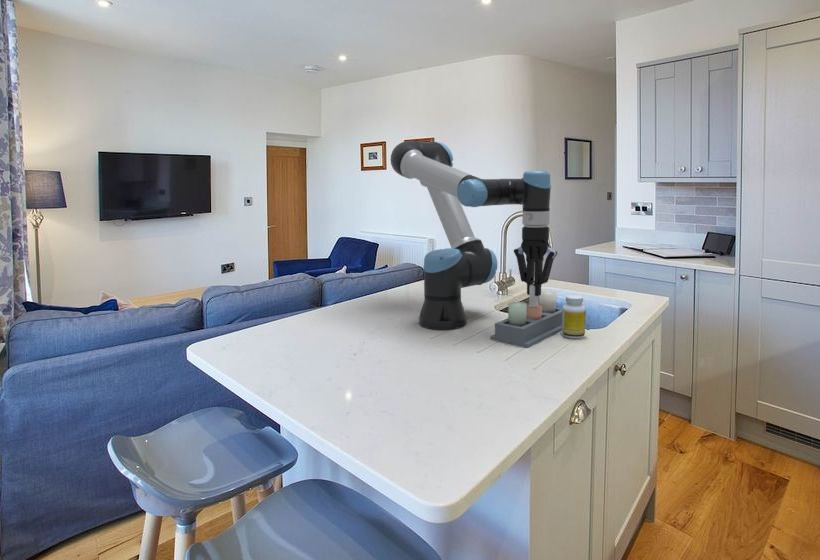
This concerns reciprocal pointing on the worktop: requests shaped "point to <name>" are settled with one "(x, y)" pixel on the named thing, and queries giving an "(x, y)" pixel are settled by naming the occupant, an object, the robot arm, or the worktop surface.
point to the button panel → (529, 330)
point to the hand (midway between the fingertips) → (533, 306)
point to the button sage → (517, 313)
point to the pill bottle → (573, 317)
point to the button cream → (548, 301)
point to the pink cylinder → (534, 312)
